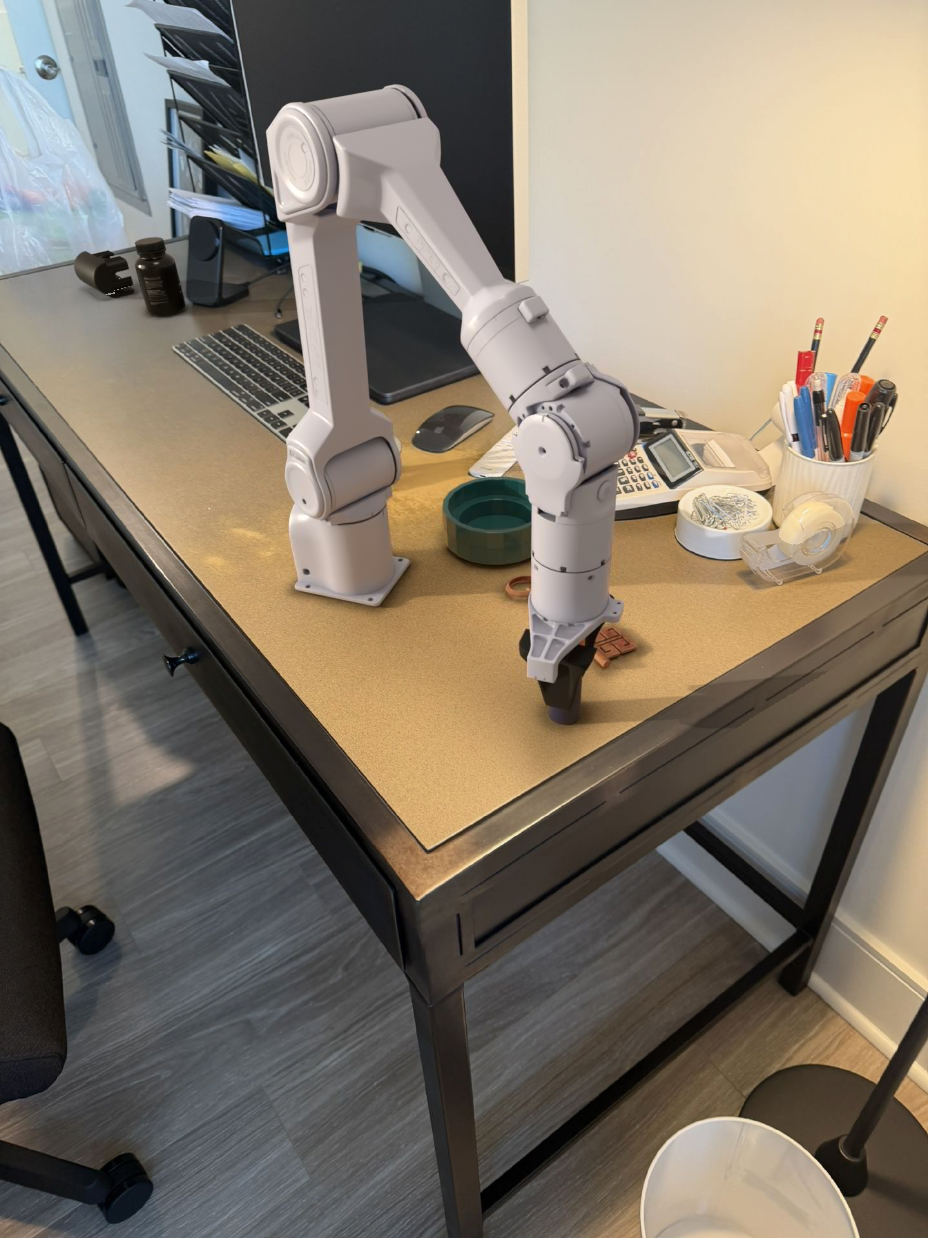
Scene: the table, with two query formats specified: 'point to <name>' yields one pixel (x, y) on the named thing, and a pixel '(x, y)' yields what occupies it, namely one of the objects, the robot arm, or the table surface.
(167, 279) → the supplement bottle
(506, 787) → the table surface
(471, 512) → the bowl
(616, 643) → the key
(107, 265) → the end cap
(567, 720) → the glue stick
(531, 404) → the robot arm
